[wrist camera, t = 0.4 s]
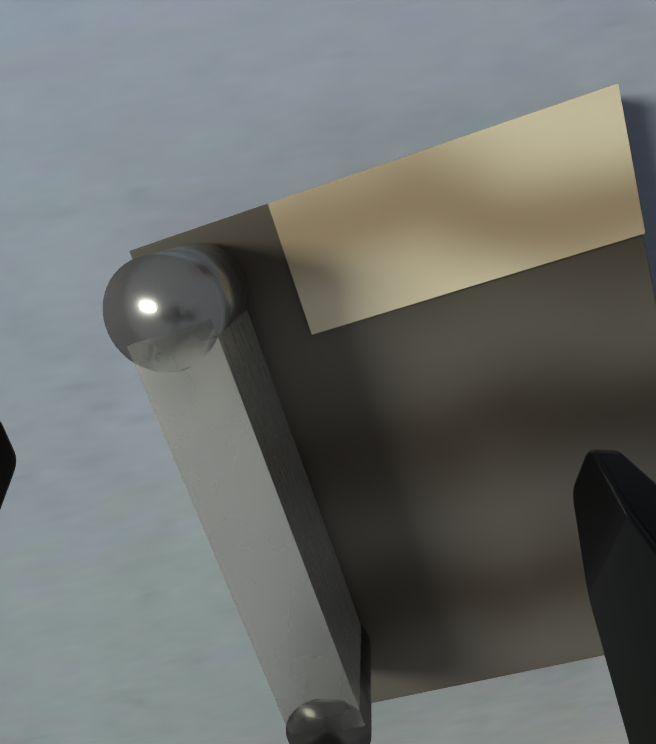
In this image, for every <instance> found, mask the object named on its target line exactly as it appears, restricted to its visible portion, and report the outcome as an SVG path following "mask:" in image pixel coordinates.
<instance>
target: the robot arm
mask: <svg viewBox="0 0 656 744" xmlns="http://www.w3.org/2000/svg"><path fill="white" fill-rule="evenodd" d="M15 467H16V455H15V452H14V449H13V447H12V445H11V443H10V441H9V438H8V436H7V434H6V432H5V429H4V427H3V425H2V423H1V422H0V509H1V506H2V503H3V501H4V498H5V495H6V492H7V490H8V487H9V484H10V482H11V479H12V476H13V473H14V471H15ZM573 503H574V509H575V516H576V522H577V528H578V535H579V541H580V548H581V554H582V560H583V567H584V573H585V579H586V585H587V590H588V596H589V600H590V604H591V608H592V612H593V615H594V619H595V622H596V626H597V629H598V633H599V637H600V640H601V644H602V647H603V651H604V655H605V658H606V662H607V665H608V669H609V672H610V676H611V680H612V683H613V687H614V690H615V694H616V698H617V701H618V705H619V708H620V712H621V715H622V719H623V723H624V726H625V730H626V733H627V737H628V740H629V744H656V483H655V482H654V481H653V480H652V479H651V478H650V477H648V476H647V475H646V474H645V473H644V472H643V471H642V470H641V469H639V468H638V467H637V466H636V465H635V464H634V463H633V462H632V461H631V460H629V459H628V458H627V457H626V456H625V455H624V454H623V453H621V452H619V451H616V450H604V449H592V450H590V451H589V452H588V453H587V454H586V456H585V459H584V461H583V464H582V466H581V469H580V472H579V474H578V477H577V479H576V482H575V485H574V489H573Z"/></svg>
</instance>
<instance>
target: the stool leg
mask: <svg viewBox="0 0 656 744" xmlns="http://www.w3.org/2000/svg"><path fill="white" fill-rule="evenodd" d="M248 304H249V285H248V281H247V278H246V275H245V273H244V271H243V269H242V268H241V266H240V265H239V263H238V262H237V261H236V260H235V259H234V258H233V257H232V256H231V255H230V254H229V253H227V252H226V251H224V250H223V249H221V248H219V247H216V246H214V245H210V244H205V243H192V244H187V245H183V246H179V247H176V248H172V249H168V250H164V251H160V252H156V253H153V254H149V255H145V256H141V257H138V258H135V259H133V260H131V261H129V262H127V263H126V264H124V265H123V266H122V267H121V268H120V269H118V271H117V272H116V273H115V274H114V275H113V277H112V278H111V280H110V281H109V284H108V286H107V288H106V291H105V294H104V300H103V317H104V322H105V326H106V329H107V331H108V334H109V336H110V338H111V340H112V341H113V343H114V344H115V346H116V347H117V348H118V349H119V351H120V352H121V353H122V354H123V355H124V356H125V357H127V358H128V359H129V360H131V361H132V362H133V363H134V364H135V367H136V369H137V372H138V374H139V376H140V379H141V381H142V384H143V386H144V388H145V391H146V393H147V395H148V398H149V400H150V403H151V405H152V407H153V410H154V412H155V414H156V417H157V419H158V422H159V424H160V426H161V429H162V431H163V433H164V436H165V438H166V441H167V443H168V445H169V448H170V450H171V452H172V455H173V457H174V460H175V462H176V464H177V467H178V469H179V471H180V474H181V476H182V479H183V481H184V483H185V486H186V488H187V490H188V493H189V495H190V498H191V500H192V502H193V505H194V507H195V510H196V512H197V514H198V517H199V519H200V521H201V524H202V526H203V529H204V531H205V533H206V536H207V538H208V540H209V543H210V545H211V548H212V550H213V552H214V555H215V557H216V559H217V562H218V564H219V567H220V569H221V571H222V574H223V576H224V578H225V581H226V583H227V586H228V588H229V590H230V593H231V595H232V597H233V600H234V602H235V605H236V607H237V609H238V612H239V614H240V616H241V619H242V621H243V624H244V626H245V628H246V631H247V633H248V636H249V638H250V640H251V643H252V645H253V647H254V650H255V652H256V655H257V657H258V659H259V662H260V664H261V666H262V669H263V671H264V674H265V676H266V678H267V681H268V683H269V685H270V688H271V690H272V693H273V695H274V697H275V700H276V702H277V704H278V707H279V709H280V712H281V714H282V716H283V719H284V721H285V723H286V735H287V739H288V742H289V743H290V744H370V741H371V641H370V638H369V635H368V633H367V632H366V630H365V629H364V628H363V627H362V626H361V624H360V621H359V618H358V615H357V613H356V610H355V607H354V604H353V602H352V599H351V596H350V593H349V590H348V588H347V585H346V582H345V579H344V577H343V574H342V571H341V568H340V566H339V563H338V560H337V557H336V555H335V552H334V549H333V546H332V543H331V541H330V538H329V535H328V532H327V530H326V527H325V524H324V521H323V519H322V516H321V513H320V510H319V507H318V505H317V502H316V499H315V496H314V494H313V491H312V488H311V485H310V483H309V480H308V477H307V474H306V472H305V469H304V466H303V463H302V460H301V458H300V455H299V452H298V449H297V447H296V444H295V441H294V438H293V436H292V433H291V430H290V427H289V424H288V422H287V419H286V416H285V413H284V411H283V408H282V405H281V402H280V400H279V397H278V394H277V391H276V388H275V386H274V383H273V380H272V377H271V375H270V372H269V369H268V366H267V364H266V361H265V358H264V355H263V353H262V350H261V347H260V344H259V341H258V339H257V336H256V333H255V330H254V328H253V325H252V322H251V319H250V317H249V314H248V311H247V308H248Z"/></svg>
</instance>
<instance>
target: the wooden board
mask: <svg viewBox="0 0 656 744" xmlns="http://www.w3.org/2000/svg"><path fill="white" fill-rule="evenodd" d="M643 234H645V229H644V223H643V218H642V212H641V207H640V201H639V196H638V190H637V185H636V179H635V174H634V168H633V163H632V157H631V152H630V146H629V141H628V135H627V130H626V124H625V118H624V113H623V107H622V102H621V96H620V91H619V85H618V84H615V85H612V86H609V87H606V88H603V89H601V90H598V91H595V92H592V93H589V94H586V95H583V96H580V97H577V98H574V99H571V100H568V101H566V102H563V103H560V104H557V105H554V106H551V107H548V108H545V109H542V110H539V111H536V112H533V113H530V114H528V115H525V116H522V117H519V118H516V119H513V120H510V121H507V122H504V123H501V124H498V125H495V126H493V127H490V128H487V129H484V130H481V131H478V132H475V133H472V134H469V135H466V136H463V137H460V138H457V139H455V140H452V141H449V142H446V143H443V144H440V145H437V146H434V147H431V148H428V149H425V150H422V151H420V152H417V153H414V154H411V155H408V156H405V157H402V158H399V159H396V160H393V161H390V162H387V163H384V164H382V165H379V166H376V167H373V168H370V169H367V170H364V171H361V172H358V173H355V174H352V175H349V176H347V177H344V178H341V179H338V180H335V181H332V182H329V183H326V184H323V185H320V186H317V187H314V188H311V189H309V190H306V191H303V192H300V193H297V194H294V195H291V196H288V197H285V198H282V199H279V200H276V201H274V202H271V203H268V204H266V205H263V206H260V207H257V208H254V209H251V210H248V211H245V212H242V213H239V214H236V215H233V216H231V217H228V218H225V219H222V220H219V221H216V222H213V223H210V224H207V225H204V226H201V227H198V228H195V229H193V230H190V231H187V232H184V233H181V234H178V235H175V236H172V237H169V238H166V239H163V240H160V241H158V242H155V243H152V244H149V245H146V246H143V247H140V248H137V249H134V250H131V251H130V254H131V256H132V259H135V258H138V257H141V256H145V255H149V254H153V253H156V252H160V251H164V250H168V249H172V248H176V247H179V246H183V245H187V244H192V243H205V244H210V245H214V246H216V247H219V248H221V249H223V250H224V251H226V252H227V253H229V254H230V255H231V256H232V257H233V258H234V259H235V260H236V261H237V262H238V263H239V265H240V266H241V268H242V269H243V271H244V273H245V275H246V278H247V281H248V285H249V304H248V308H247V311H248V314H249V317H250V319H251V322H252V325H253V328H254V330H255V333H256V336H257V339H258V341H259V344H260V347H261V350H262V353H263V355H264V358H265V361H266V364H267V366H268V369H269V372H270V375H271V377H272V380H273V383H274V386H275V388H276V391H277V394H278V397H279V400H280V402H281V405H282V408H283V411H284V413H285V416H286V419H287V422H288V424H289V427H290V430H291V433H292V436H293V438H294V441H295V444H296V447H297V449H298V452H299V455H300V458H301V460H302V463H303V466H304V469H305V472H306V474H307V477H308V480H309V483H310V485H311V488H312V491H313V494H314V496H315V499H316V502H317V505H318V507H319V510H320V513H321V516H322V519H323V521H324V524H325V527H326V530H327V532H328V535H329V538H330V541H331V543H332V546H333V549H334V552H335V555H336V557H337V560H338V563H339V566H340V568H341V571H342V574H343V577H344V579H345V582H346V585H347V588H348V590H349V593H350V596H351V599H352V602H353V604H354V607H355V610H356V613H357V615H358V618H359V621H360V624H361V626H362V627H363V628H364V629H365V630H366V632H367V633H368V635H369V638H370V641H371V703H373V702H378V701H383V700H388V699H393V698H398V697H403V696H408V695H412V694H417V693H422V692H427V691H432V690H437V689H442V688H446V687H451V686H456V685H461V684H466V683H471V682H476V681H481V680H485V679H490V678H495V677H500V676H505V675H510V674H515V673H519V672H524V671H529V670H534V669H539V668H544V667H549V666H554V665H558V664H563V663H568V662H573V661H578V660H583V659H588V658H592V657H597V656H602V655H604V651H603V647H602V644H601V640H600V637H599V633H598V629H597V626H596V622H595V619H594V615H593V612H592V608H591V604H590V600H589V596H588V590H587V585H586V579H585V573H584V567H583V560H582V554H581V548H580V541H579V535H578V528H577V522H576V516H575V509H574V503H573V489H574V485H575V482H576V479H577V477H578V474H579V472H580V469H581V466H582V464H583V461H584V459H585V456H586V454H587V453H588V452H589V451H590V450H592V449H604V450H616V451H619V452H621V453H623V454H624V455H625V456H626V457H627V458H628V459H629V460H631V461H632V462H633V463H634V464H635V465H636V466H637V467H638V468H639V469H641V470H642V471H643V472H644V473H645V474H646V475H647V476H648V477H650V478H651V479H652V480H653V481H654V482H655V483H656V304H655V298H654V293H653V287H652V282H651V277H650V271H649V266H648V260H647V255H646V249H645V244H644V238H643Z"/></svg>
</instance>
